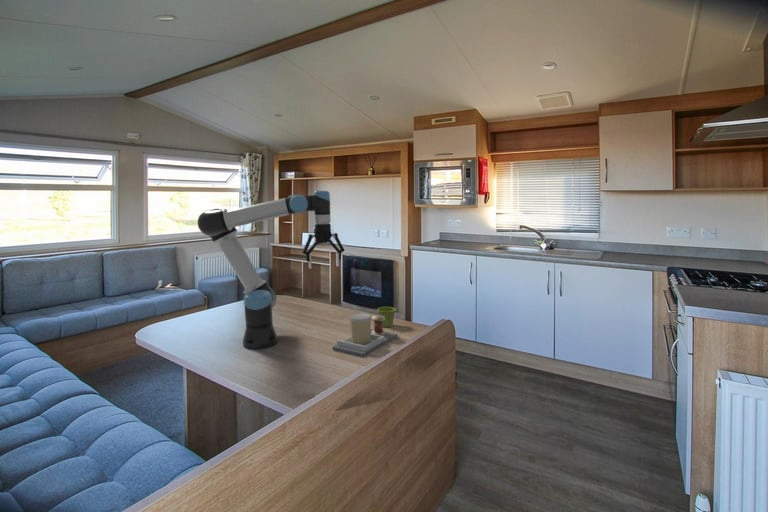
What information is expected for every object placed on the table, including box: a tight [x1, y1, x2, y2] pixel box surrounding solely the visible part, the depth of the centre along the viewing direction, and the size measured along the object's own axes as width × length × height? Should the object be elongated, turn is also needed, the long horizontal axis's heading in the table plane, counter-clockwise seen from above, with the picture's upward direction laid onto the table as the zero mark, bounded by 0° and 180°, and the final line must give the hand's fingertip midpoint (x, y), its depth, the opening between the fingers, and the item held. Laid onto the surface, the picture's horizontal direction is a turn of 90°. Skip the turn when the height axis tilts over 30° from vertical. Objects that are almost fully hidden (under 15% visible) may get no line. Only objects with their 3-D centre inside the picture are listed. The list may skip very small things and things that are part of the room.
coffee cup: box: [349, 313, 372, 346], centre depth 180 cm, size 9×9×12 cm
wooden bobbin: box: [370, 314, 386, 336], centre depth 192 cm, size 6×6×8 cm
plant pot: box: [376, 306, 397, 328], centre depth 209 cm, size 9×9×9 cm
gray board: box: [332, 328, 399, 358], centre depth 184 cm, size 28×16×4 cm, turn 147°
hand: (324, 267), depth 200 cm, fingers open, 13 cm apart
